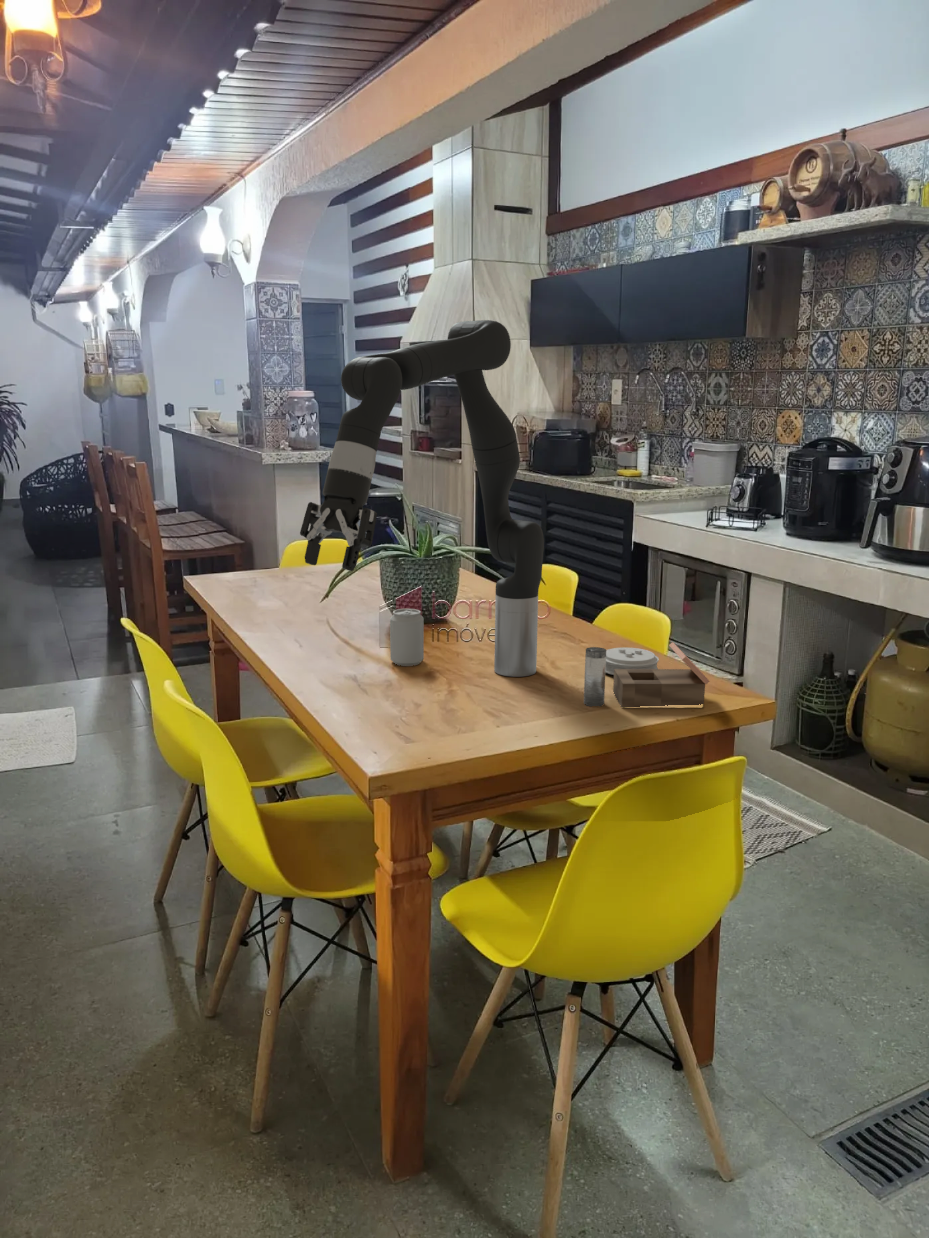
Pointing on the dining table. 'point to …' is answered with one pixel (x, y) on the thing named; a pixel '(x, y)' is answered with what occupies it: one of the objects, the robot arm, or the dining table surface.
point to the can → (407, 637)
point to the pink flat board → (689, 663)
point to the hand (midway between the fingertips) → (328, 567)
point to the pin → (594, 676)
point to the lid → (629, 659)
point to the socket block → (657, 687)
